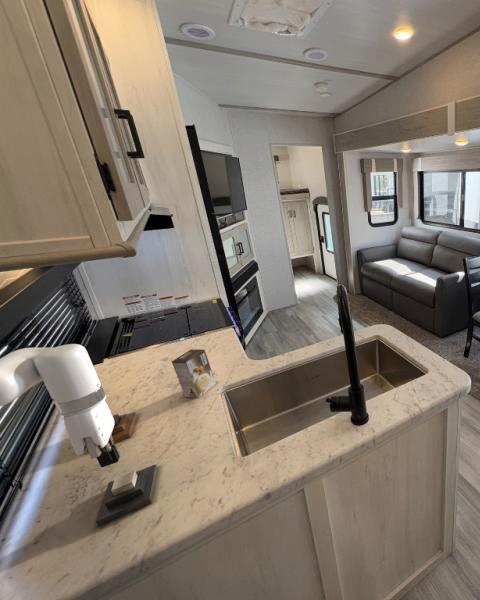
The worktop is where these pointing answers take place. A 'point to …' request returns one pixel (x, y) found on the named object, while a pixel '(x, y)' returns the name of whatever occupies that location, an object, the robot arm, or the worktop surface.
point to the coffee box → (194, 372)
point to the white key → (124, 483)
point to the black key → (116, 419)
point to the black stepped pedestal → (128, 497)
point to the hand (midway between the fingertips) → (111, 462)
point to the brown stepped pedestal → (124, 427)
